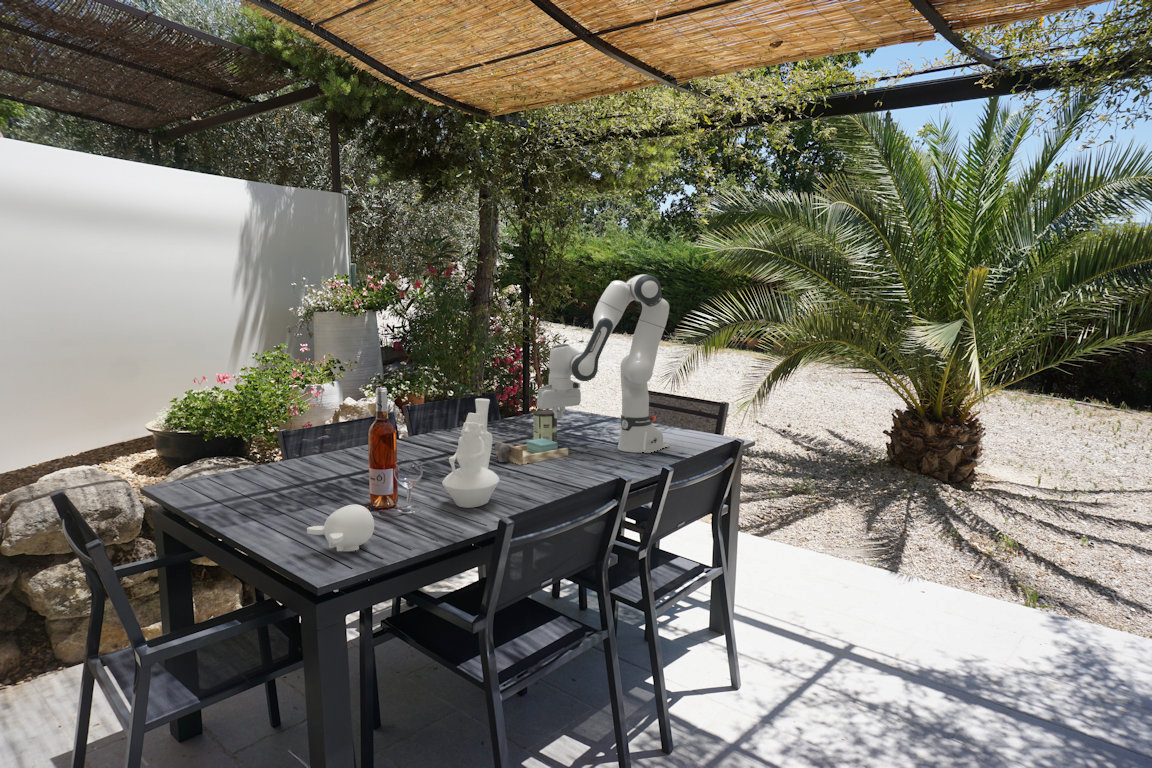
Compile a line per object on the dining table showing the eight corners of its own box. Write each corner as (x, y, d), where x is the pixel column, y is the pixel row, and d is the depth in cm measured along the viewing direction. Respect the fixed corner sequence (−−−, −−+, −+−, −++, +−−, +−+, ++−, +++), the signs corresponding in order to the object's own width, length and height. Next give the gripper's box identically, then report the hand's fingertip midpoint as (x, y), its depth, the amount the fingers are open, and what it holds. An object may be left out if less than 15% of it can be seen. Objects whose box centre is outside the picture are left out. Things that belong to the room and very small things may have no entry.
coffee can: (548, 440, 313) (548, 408, 311) (561, 444, 304) (561, 412, 302) (528, 443, 307) (528, 410, 305) (541, 448, 299) (541, 414, 297)
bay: (544, 448, 298) (544, 431, 297) (568, 455, 286) (568, 438, 285) (484, 459, 280) (484, 441, 279) (507, 467, 268) (507, 448, 267)
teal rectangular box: (542, 447, 294) (542, 438, 293) (557, 452, 286) (557, 442, 285) (526, 450, 289) (526, 440, 288) (541, 455, 281) (541, 445, 280)
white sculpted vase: (430, 506, 222) (427, 404, 217) (473, 489, 240) (472, 394, 236) (476, 516, 213) (475, 410, 208) (517, 497, 232) (517, 399, 227)
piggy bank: (363, 542, 196) (314, 563, 184) (351, 501, 196) (301, 519, 184) (389, 540, 188) (340, 561, 176) (377, 497, 188) (326, 515, 176)
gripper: (543, 387, 280) (542, 421, 282) (583, 383, 293) (582, 416, 295) (533, 385, 285) (533, 419, 287) (573, 381, 298) (572, 414, 300)
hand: (558, 418), depth 291 cm, fingers closed
